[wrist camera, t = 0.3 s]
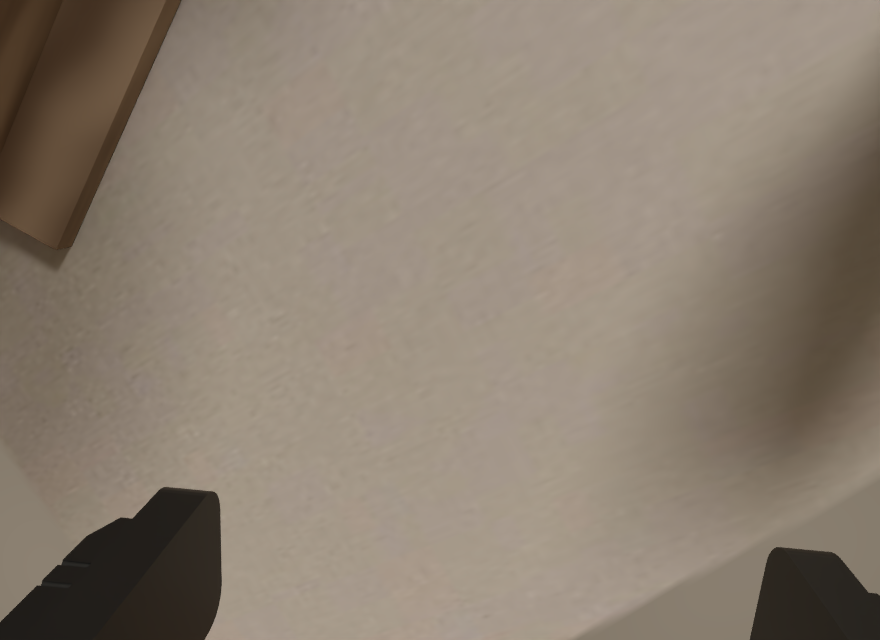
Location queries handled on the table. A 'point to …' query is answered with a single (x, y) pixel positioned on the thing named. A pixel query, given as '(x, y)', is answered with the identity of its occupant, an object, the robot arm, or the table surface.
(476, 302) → the table surface
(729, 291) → the table surface
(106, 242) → the table surface
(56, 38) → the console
